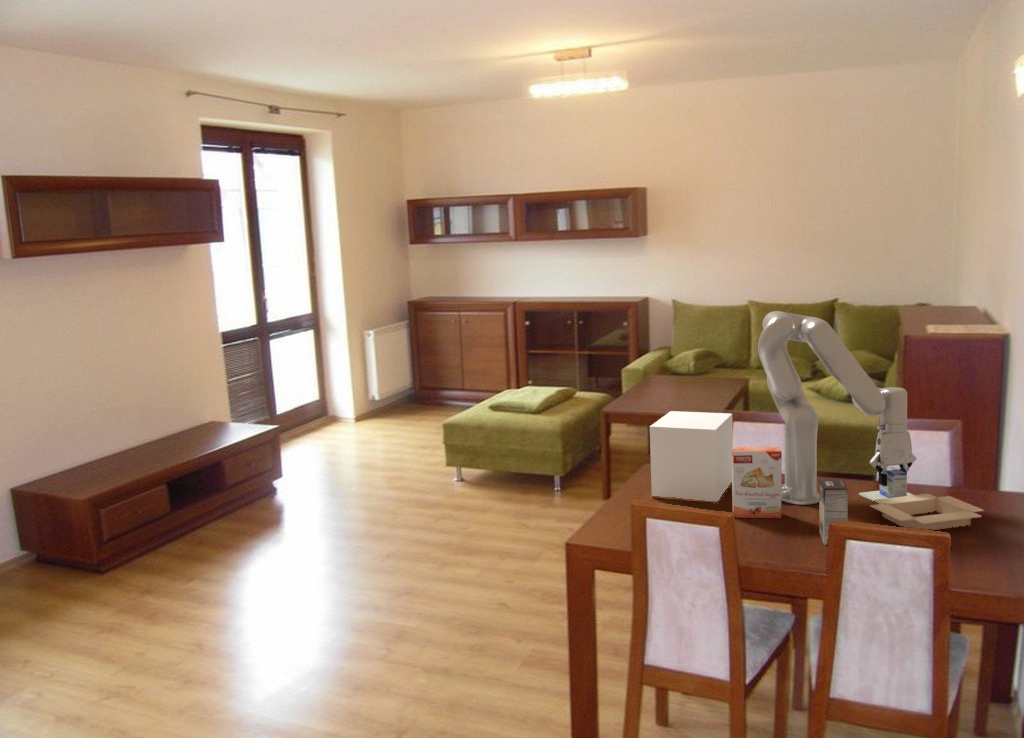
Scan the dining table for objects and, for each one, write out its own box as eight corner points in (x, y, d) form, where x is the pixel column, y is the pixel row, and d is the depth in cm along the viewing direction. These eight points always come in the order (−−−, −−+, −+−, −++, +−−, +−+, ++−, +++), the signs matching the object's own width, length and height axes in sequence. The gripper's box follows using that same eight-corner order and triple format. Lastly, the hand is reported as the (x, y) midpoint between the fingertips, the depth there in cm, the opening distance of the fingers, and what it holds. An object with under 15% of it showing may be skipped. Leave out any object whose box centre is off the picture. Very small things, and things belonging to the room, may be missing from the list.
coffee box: (818, 533, 235) (818, 478, 233) (842, 534, 234) (842, 478, 232) (823, 545, 227) (823, 487, 224) (848, 545, 225) (849, 488, 223)
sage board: (885, 507, 254) (886, 505, 254) (858, 494, 267) (858, 492, 267) (927, 502, 256) (927, 500, 256) (898, 490, 270) (898, 488, 270)
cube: (672, 478, 298) (670, 411, 294) (733, 483, 288) (732, 413, 285) (651, 499, 276) (649, 426, 272) (717, 505, 266) (715, 429, 263)
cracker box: (733, 518, 251) (732, 450, 248) (732, 512, 257) (731, 446, 254) (782, 519, 249) (781, 450, 246) (779, 512, 255) (779, 445, 251)
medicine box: (879, 493, 265) (878, 467, 264) (892, 492, 266) (892, 465, 265) (894, 501, 258) (893, 473, 256) (907, 499, 258) (907, 472, 257)
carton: (909, 538, 228) (909, 524, 227) (861, 514, 249) (861, 501, 249) (993, 528, 232) (994, 514, 232) (939, 504, 254) (940, 492, 253)
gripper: (875, 432, 253) (874, 490, 256) (926, 427, 256) (925, 484, 259) (860, 427, 261) (860, 483, 263) (910, 422, 264) (909, 478, 266)
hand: (892, 483), depth 261 cm, fingers open, 6 cm apart
